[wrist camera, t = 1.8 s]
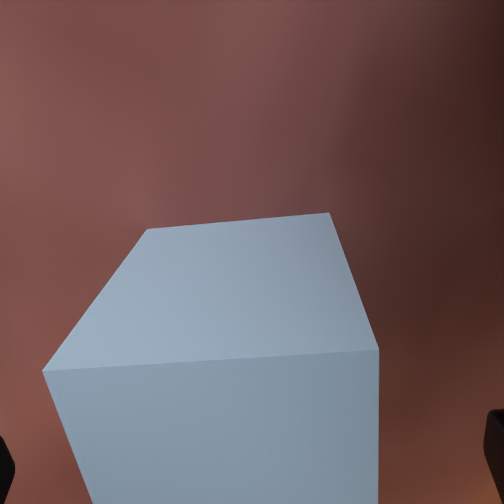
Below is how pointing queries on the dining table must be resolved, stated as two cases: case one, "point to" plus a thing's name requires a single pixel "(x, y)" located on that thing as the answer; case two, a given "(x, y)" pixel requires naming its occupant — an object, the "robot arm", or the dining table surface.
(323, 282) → the blue block
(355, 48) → the dining table surface
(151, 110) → the dining table surface
